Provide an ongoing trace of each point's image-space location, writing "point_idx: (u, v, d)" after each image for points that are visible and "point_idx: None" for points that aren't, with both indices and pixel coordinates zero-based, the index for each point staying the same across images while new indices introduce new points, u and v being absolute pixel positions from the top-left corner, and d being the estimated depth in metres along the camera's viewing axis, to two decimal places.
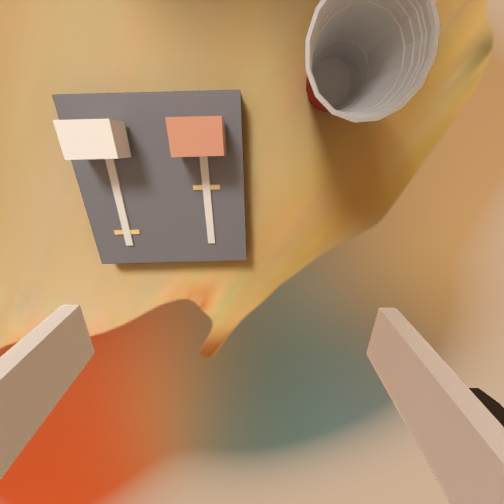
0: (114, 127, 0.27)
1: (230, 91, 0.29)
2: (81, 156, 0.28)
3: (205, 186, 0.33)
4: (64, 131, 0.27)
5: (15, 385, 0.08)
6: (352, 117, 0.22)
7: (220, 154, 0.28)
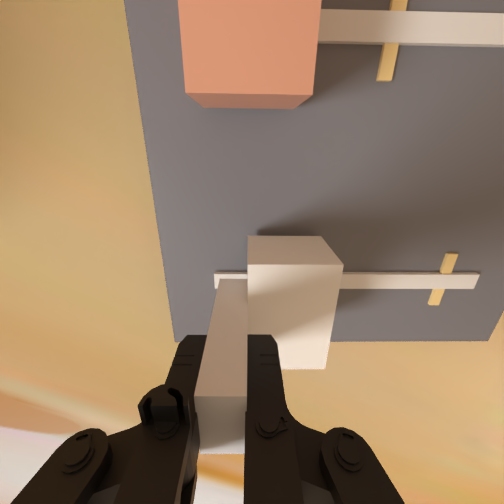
0: (265, 256, 0.11)
1: None
2: (324, 340, 0.12)
3: (392, 29, 0.10)
4: None
5: None
6: None
7: None
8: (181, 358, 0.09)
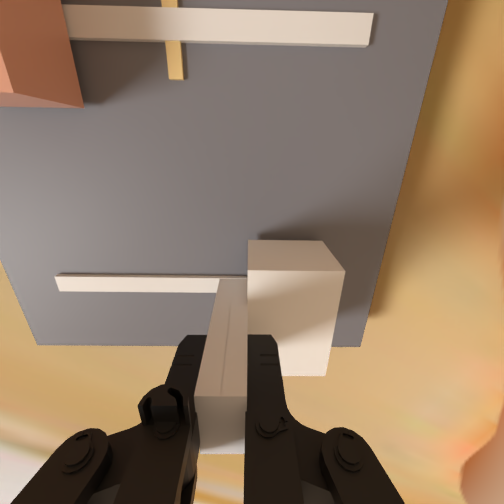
0: (265, 261, 0.11)
1: None
2: (324, 347, 0.12)
3: (167, 26, 0.10)
4: None
5: None
6: None
7: None
8: (181, 358, 0.09)
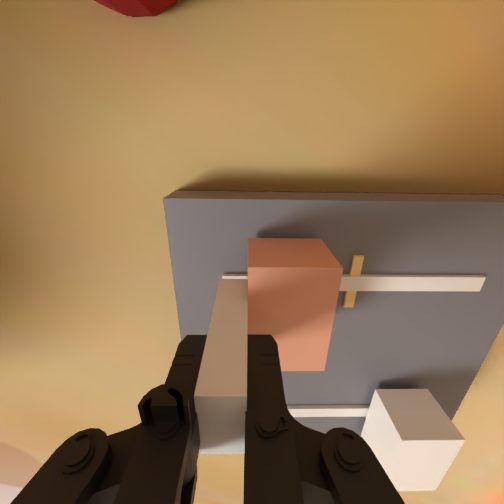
0: (406, 426, 0.16)
1: (168, 219, 0.13)
2: (439, 475, 0.17)
3: (351, 285, 0.15)
4: (399, 484, 0.17)
5: None
6: None
7: (338, 275, 0.10)
8: (181, 358, 0.09)
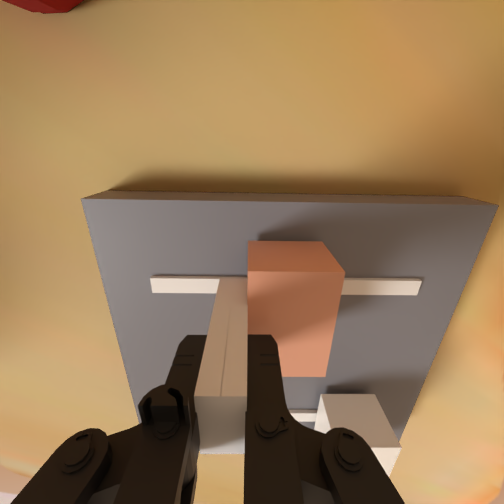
0: None
1: (89, 220, 0.13)
2: None
3: None
4: None
5: None
6: None
7: (340, 280, 0.10)
8: (181, 358, 0.09)
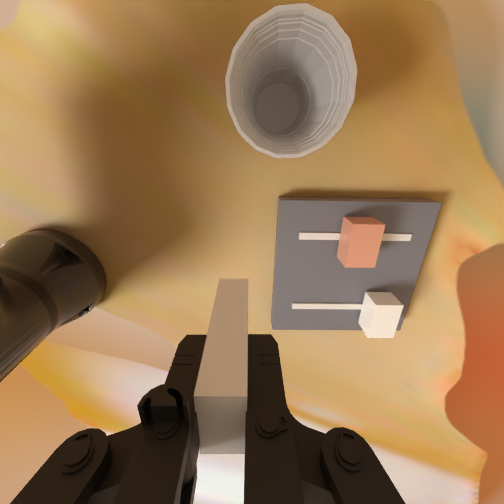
0: (378, 301, 0.36)
1: (280, 208, 0.33)
2: (394, 328, 0.37)
3: None
4: (376, 333, 0.37)
5: None
6: (348, 103, 0.20)
7: (383, 227, 0.31)
8: (181, 358, 0.09)
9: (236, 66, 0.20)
